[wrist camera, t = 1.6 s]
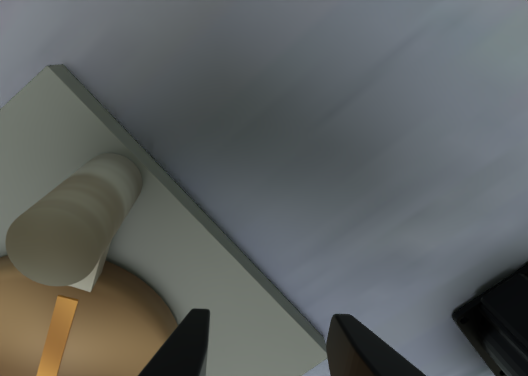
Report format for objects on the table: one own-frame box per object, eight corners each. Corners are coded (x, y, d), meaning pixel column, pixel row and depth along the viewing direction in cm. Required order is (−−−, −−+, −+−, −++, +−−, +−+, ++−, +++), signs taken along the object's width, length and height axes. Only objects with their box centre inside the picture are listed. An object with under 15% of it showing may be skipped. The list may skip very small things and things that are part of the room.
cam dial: (146, 455, 22) (118, 596, 17) (-79, 414, 20) (-206, 563, 14) (252, 197, 17) (264, 270, 12) (-31, 102, 15) (-193, 134, 9)
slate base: (323, 337, 23) (330, 357, 21) (86, 500, 26) (77, 527, 24) (44, 45, 16) (25, 44, 15) (-234, 308, 19) (-273, 330, 18)
